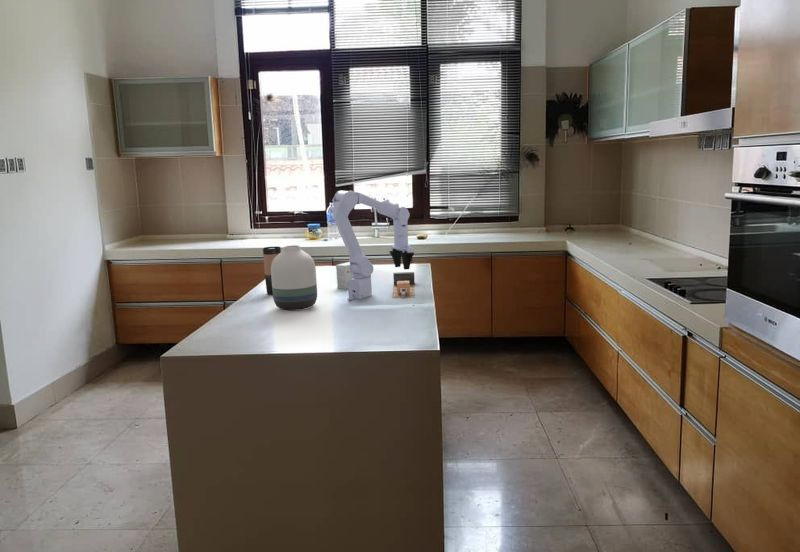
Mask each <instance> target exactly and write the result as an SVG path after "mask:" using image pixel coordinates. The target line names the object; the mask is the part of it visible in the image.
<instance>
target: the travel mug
mask: <svg viewBox="0 0 800 552" xmlns="http://www.w3.org/2000/svg"><path fill="white" fill-rule="evenodd" d="M281 249H282V248H281V246H266V247H264V248H263V249H262V253H263V254H262V255H263V269H264V278H265V279H264V280H265V288H266V294H267V295H269V296H273V290H272V278H271V265H272V261H273V260H274V258H275V257H276V256H277V255H278V254H280V253H281V252H282V251H281Z"/></svg>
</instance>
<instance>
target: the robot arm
mask: <svg viewBox="0 0 800 552" xmlns="http://www.w3.org/2000/svg"><path fill="white" fill-rule="evenodd" d="M332 203H333V207H332V208H333V209H332V219H333V221H334V222H335V225H336V227H337V230H338V232H339V234H340V237H341V239H342V241H343V243H344V246H345V248H346V250H347V253H348V256H349V258H348V262H350V270H351V272H352V273H353V279H352V280H350V281H349V283H348V289H347V290H348V297H347V300H348V301H353V300H354V299H358V300H359V299H360V300H361V299H364V298H368V297H371V296H372V295H373V289H372V287H373V286H372V275H373V272H374V265H373V263H372V262H370V261H369V259H368V257H367V255H366V254H364V253H363V251H362V248H361V246H360V243H359V241H358V239H357V236H356V233H355V232H354V231H355V230H354V229H353V227H352V224H351V222H350V219H349V215H350V212H351V211H352V210H353V209H354V208H355V207H356V205H361V204H362V205H364V206H368V207H371V208H373V209H376V212H377V213H379V214H380V215H383V216H386V217H389V218H391V219H392V220H393V239H394V240H393V242H394V243H393V244H391V245H390V247H391V248H390V249H391V250H389V254H390V256H391V258H392V260H393V264H394V268H400V267H401V264H403V269H404V270H405V271H406V270H409V269H410V268H411V262H412V259H413V256H414V255H415V252H414V251H413V247H412V246H411V245H410V244H409V233H408V229H409V227H408V220H409V219H410V214H411V213H410V212H409V209H408V208H407V207H405V206H399V203H392V202H390V200H389V199H386V198H385V199H381V200H377V199H376V198H373V197H371V196H368V195H366V194H364V193H361V192H358V191H357V192H356V191H355V190H354V191H353V190H342V189H340V190H338V191H336V192H335V194H334V196H333V198H332Z"/></svg>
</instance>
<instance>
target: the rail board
mask: <svg viewBox="0 0 800 552" xmlns="http://www.w3.org/2000/svg"><path fill="white" fill-rule="evenodd" d="M397 281H409V285H410V294H407V288H402V289H400V294H398V295H397ZM415 282H416V281H415V271H407V272H406V271H405V272H404V271H403V272H393V289H392V295H391V299H392V300H393V299H395V300H396V299H413V298H414V299H415V297H416V294H415V291H416V290H415V289H416V288H415V287H416V286H415V284H416V283H415Z"/></svg>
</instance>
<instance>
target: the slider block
mask: <svg viewBox="0 0 800 552" xmlns="http://www.w3.org/2000/svg"><path fill="white" fill-rule="evenodd" d="M402 288H407V294H410V285H409V281H397V295H398V294H400V289H402Z"/></svg>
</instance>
